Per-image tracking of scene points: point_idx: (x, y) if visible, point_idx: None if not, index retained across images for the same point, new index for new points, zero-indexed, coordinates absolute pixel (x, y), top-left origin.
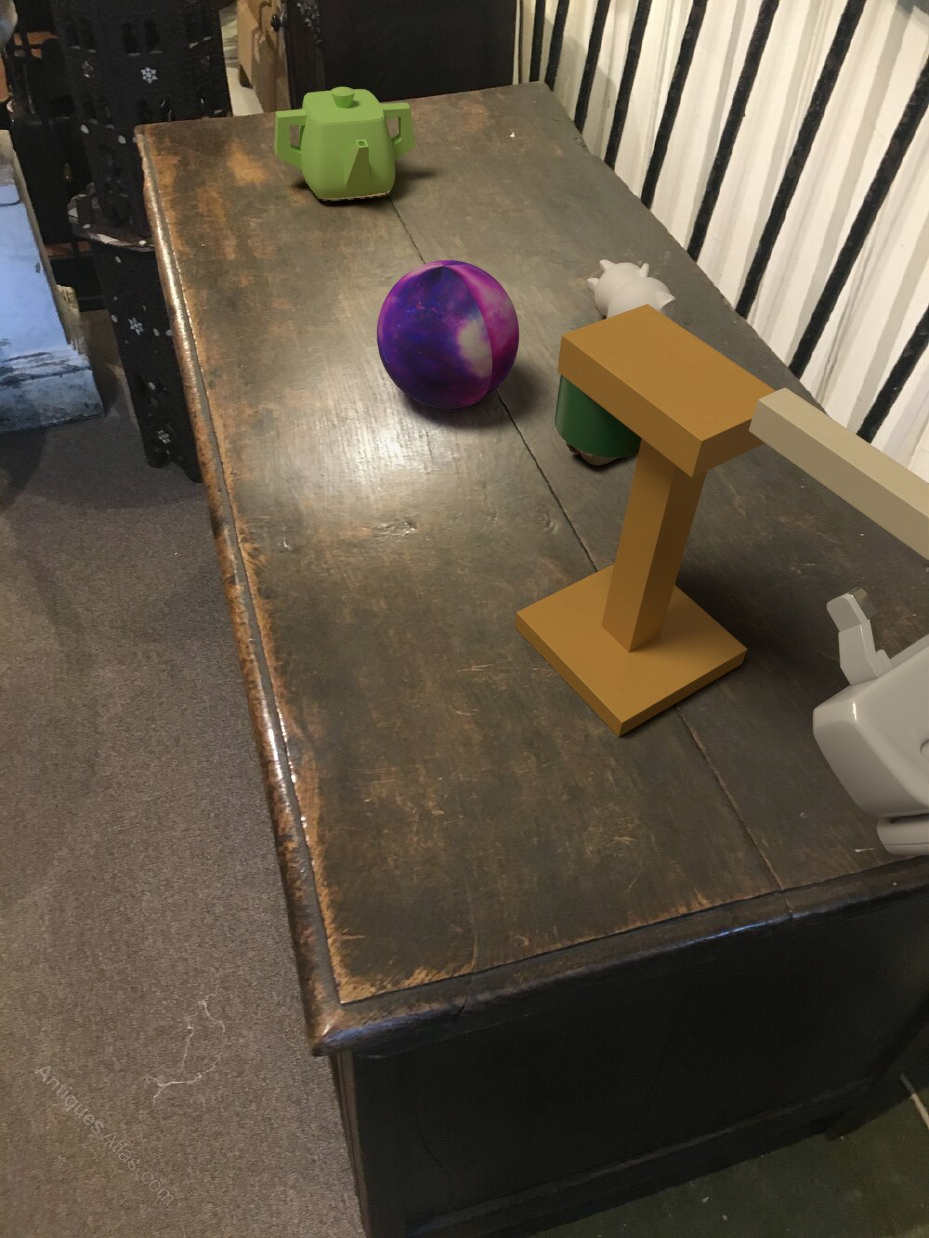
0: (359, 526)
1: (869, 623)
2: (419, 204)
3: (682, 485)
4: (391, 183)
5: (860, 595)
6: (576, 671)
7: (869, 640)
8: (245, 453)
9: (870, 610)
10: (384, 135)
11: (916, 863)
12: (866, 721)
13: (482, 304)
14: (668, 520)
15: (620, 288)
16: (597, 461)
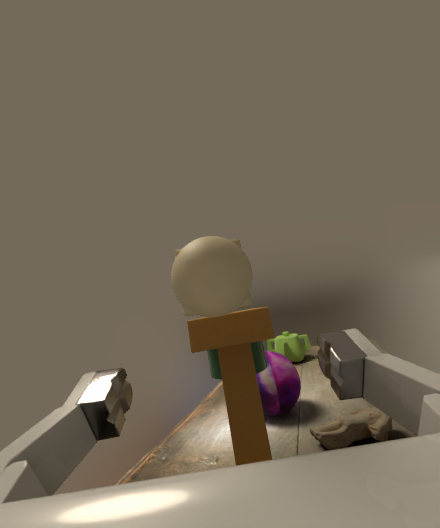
0: (196, 456)
1: (71, 410)
2: (311, 363)
3: (235, 386)
4: (300, 356)
5: (105, 372)
6: None
7: (31, 434)
8: (189, 423)
9: (96, 394)
10: (295, 341)
11: None
12: None
13: (271, 361)
14: (235, 419)
15: None
16: (326, 444)
